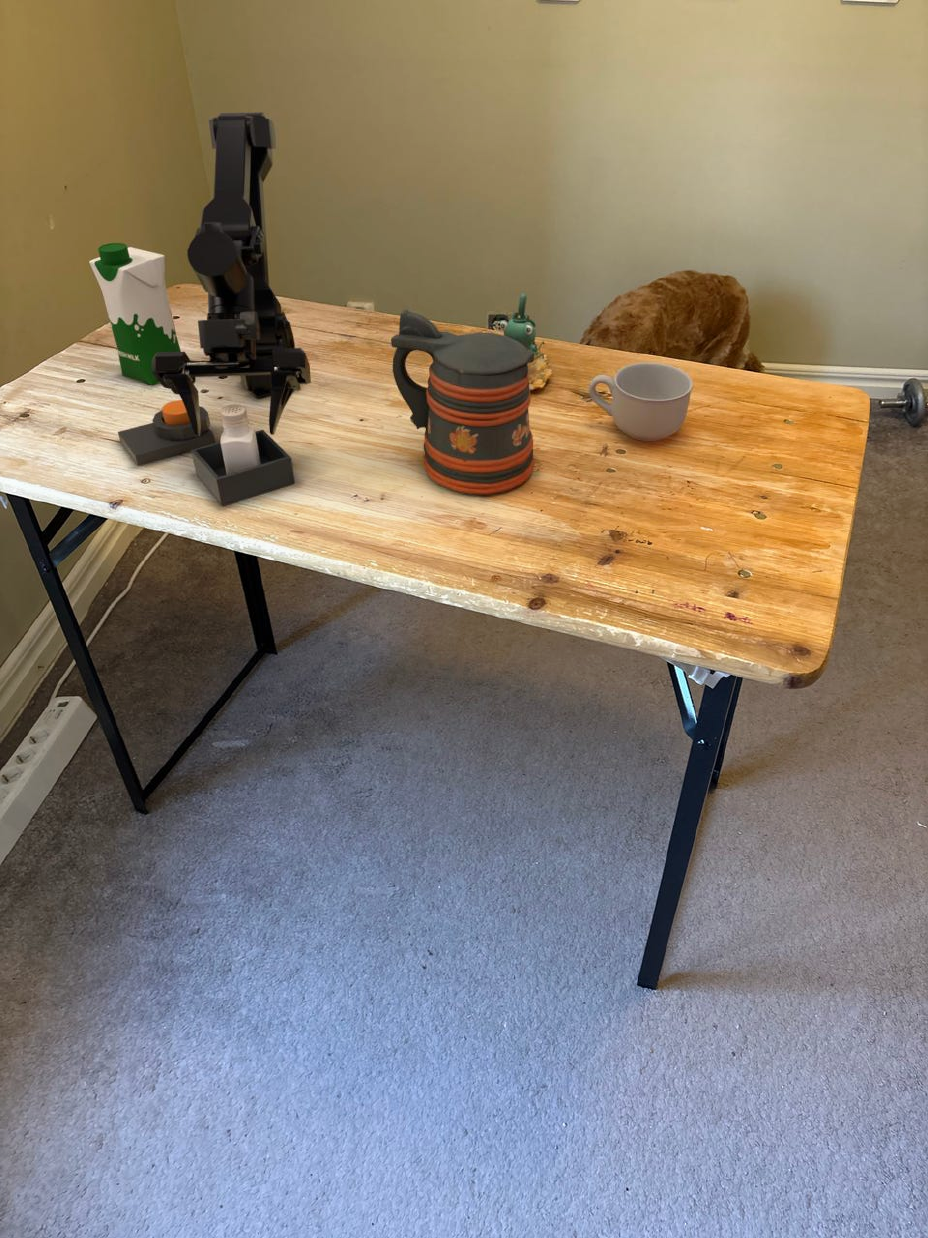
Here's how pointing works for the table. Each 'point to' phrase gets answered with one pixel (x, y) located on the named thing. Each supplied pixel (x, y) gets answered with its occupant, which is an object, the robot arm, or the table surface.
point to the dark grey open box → (243, 471)
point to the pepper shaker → (238, 440)
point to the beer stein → (468, 406)
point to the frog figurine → (527, 344)
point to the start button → (175, 413)
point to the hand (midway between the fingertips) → (234, 434)
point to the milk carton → (136, 307)
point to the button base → (164, 439)
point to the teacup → (646, 399)
